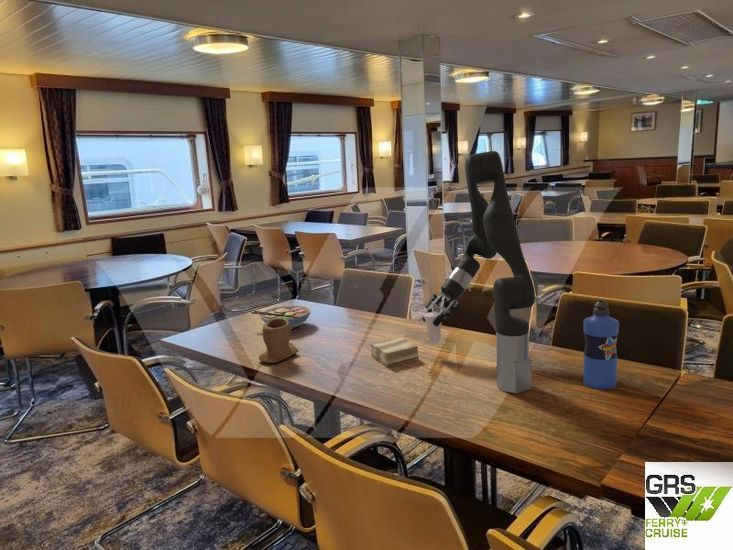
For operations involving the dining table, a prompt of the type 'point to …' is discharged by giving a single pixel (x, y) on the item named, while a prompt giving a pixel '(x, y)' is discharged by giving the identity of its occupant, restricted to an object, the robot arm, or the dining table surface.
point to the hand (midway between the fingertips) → (429, 322)
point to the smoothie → (432, 326)
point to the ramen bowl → (286, 313)
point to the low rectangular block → (394, 352)
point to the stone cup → (277, 341)
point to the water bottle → (600, 348)
